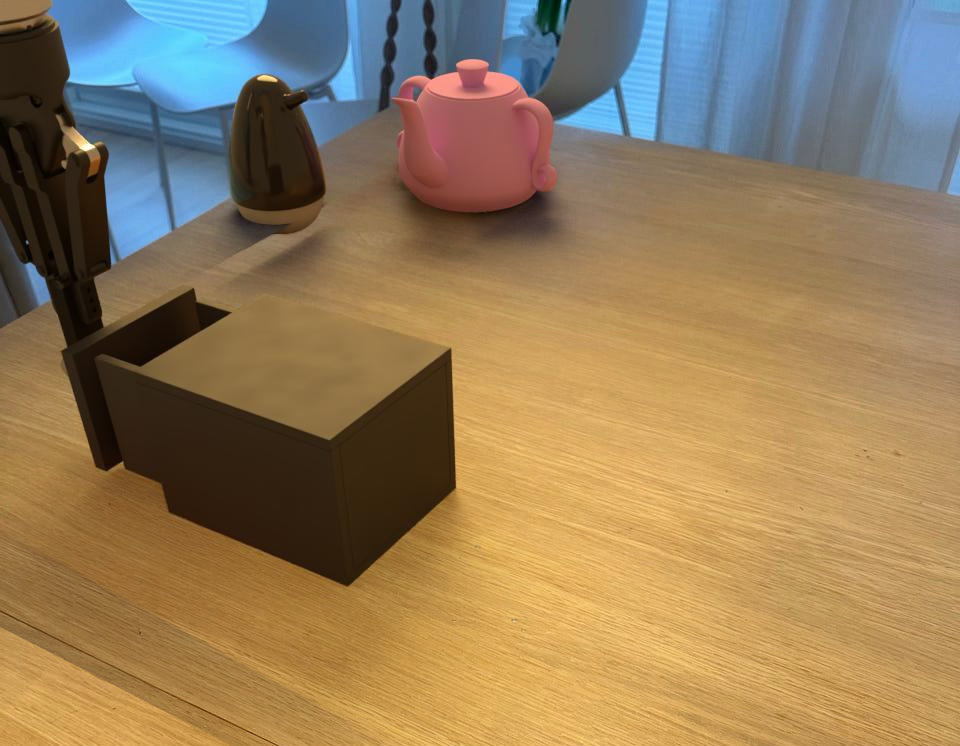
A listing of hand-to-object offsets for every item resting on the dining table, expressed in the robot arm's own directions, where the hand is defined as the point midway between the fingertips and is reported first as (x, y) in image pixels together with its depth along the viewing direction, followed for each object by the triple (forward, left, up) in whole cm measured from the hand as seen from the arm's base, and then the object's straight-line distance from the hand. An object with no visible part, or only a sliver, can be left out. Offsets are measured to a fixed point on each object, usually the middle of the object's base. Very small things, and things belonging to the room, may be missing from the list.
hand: (90, 355), depth 86 cm
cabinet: (+21, 0, -6) cm, 22 cm away
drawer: (+11, 0, -5) cm, 12 cm away
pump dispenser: (-14, +39, -6) cm, 42 cm away
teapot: (-1, +55, -6) cm, 55 cm away
